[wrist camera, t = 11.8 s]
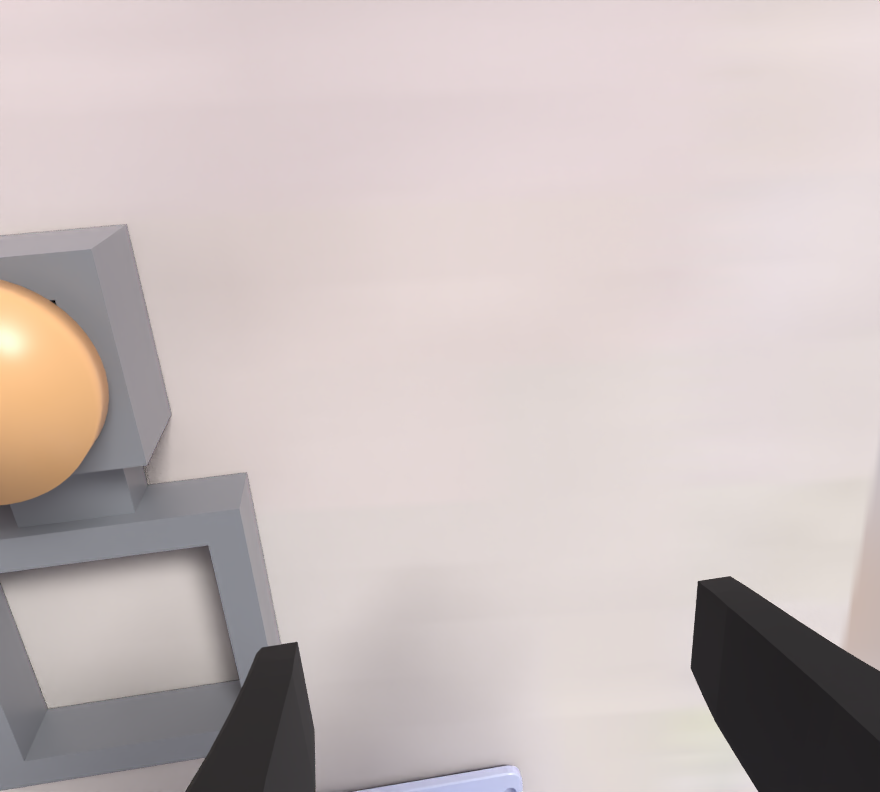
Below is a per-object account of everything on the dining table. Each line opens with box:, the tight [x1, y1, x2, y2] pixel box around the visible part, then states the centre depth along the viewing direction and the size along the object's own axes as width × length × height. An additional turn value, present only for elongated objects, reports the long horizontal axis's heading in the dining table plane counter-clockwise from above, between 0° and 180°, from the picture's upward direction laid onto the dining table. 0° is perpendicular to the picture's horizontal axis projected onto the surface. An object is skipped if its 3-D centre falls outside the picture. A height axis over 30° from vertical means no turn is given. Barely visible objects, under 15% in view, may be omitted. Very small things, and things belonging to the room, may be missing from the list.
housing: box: [0, 224, 281, 791], centre depth 20 cm, size 16×9×3 cm, turn 4°
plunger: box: [0, 280, 109, 505], centre depth 17 cm, size 5×5×4 cm
